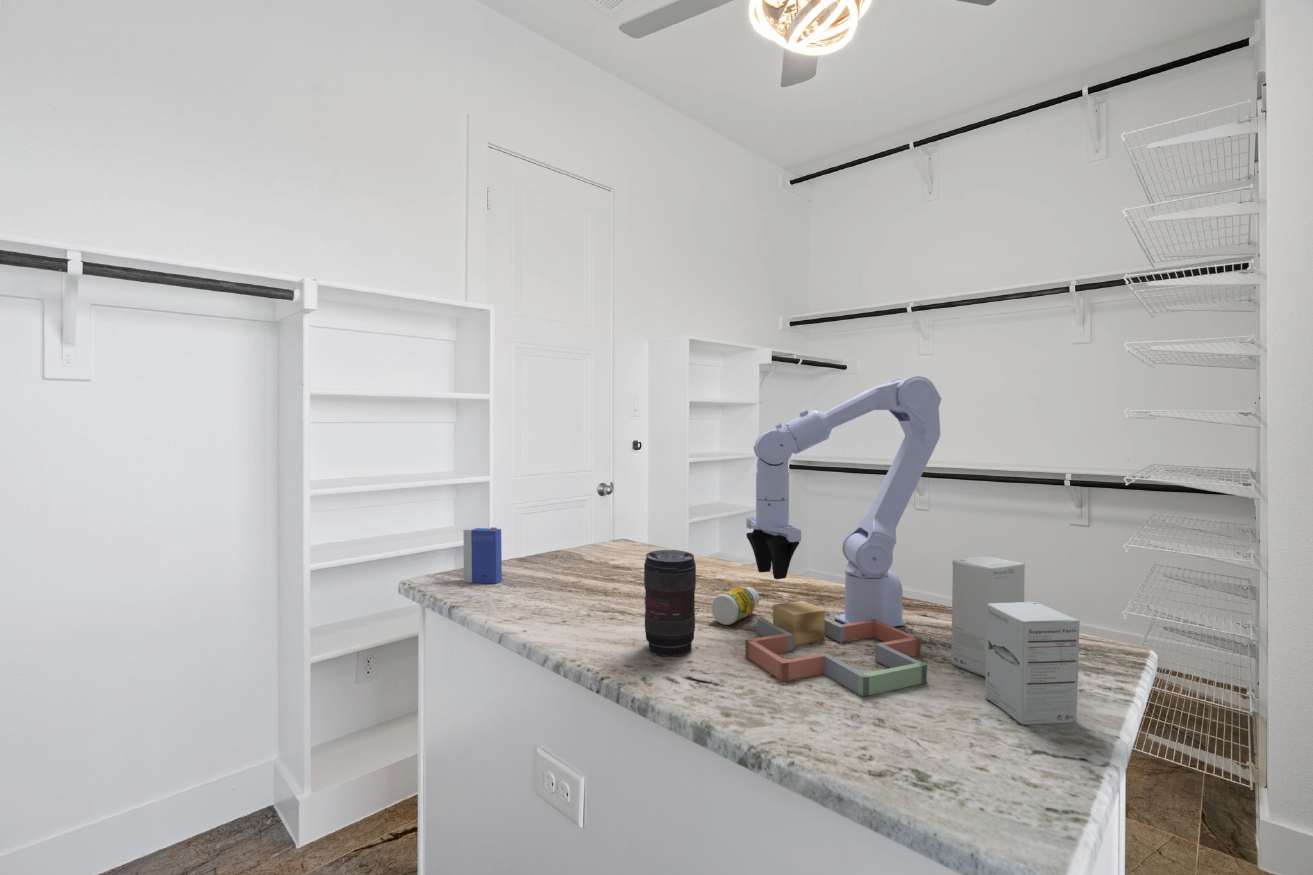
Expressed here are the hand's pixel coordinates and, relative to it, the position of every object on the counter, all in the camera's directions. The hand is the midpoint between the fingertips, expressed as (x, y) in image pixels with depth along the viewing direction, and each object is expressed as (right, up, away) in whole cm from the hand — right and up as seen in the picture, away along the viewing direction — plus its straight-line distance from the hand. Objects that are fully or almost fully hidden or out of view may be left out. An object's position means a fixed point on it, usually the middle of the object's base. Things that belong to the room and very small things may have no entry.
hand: (771, 574), depth 111 cm
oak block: (+3, -9, -7) cm, 12 cm away
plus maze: (+7, -9, -15) cm, 19 cm away
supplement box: (+26, -10, -33) cm, 43 cm away
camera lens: (-18, -9, -13) cm, 24 cm away
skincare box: (+28, -9, -20) cm, 35 cm away
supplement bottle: (-9, -6, -2) cm, 11 cm away
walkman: (-59, -8, +28) cm, 66 cm away
